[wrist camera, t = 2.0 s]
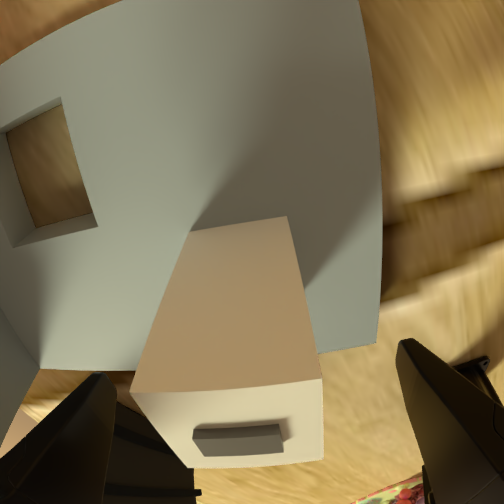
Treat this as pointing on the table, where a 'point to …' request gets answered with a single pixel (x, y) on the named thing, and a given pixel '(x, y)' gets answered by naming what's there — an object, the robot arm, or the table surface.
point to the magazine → (144, 465)
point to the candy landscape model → (397, 494)
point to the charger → (234, 353)
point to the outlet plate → (188, 171)
